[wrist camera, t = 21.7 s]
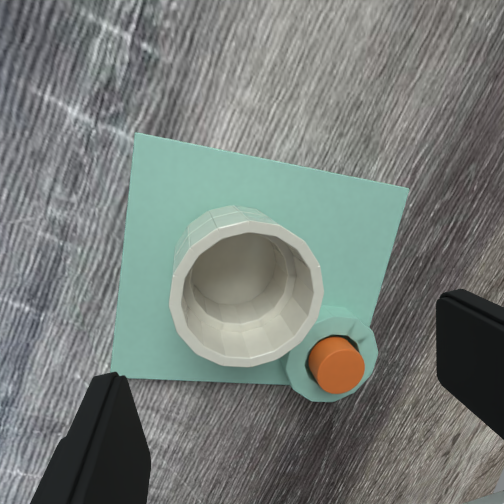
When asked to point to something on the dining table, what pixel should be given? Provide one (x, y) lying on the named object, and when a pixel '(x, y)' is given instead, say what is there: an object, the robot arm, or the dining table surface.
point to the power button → (336, 365)
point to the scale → (280, 210)
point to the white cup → (243, 287)
